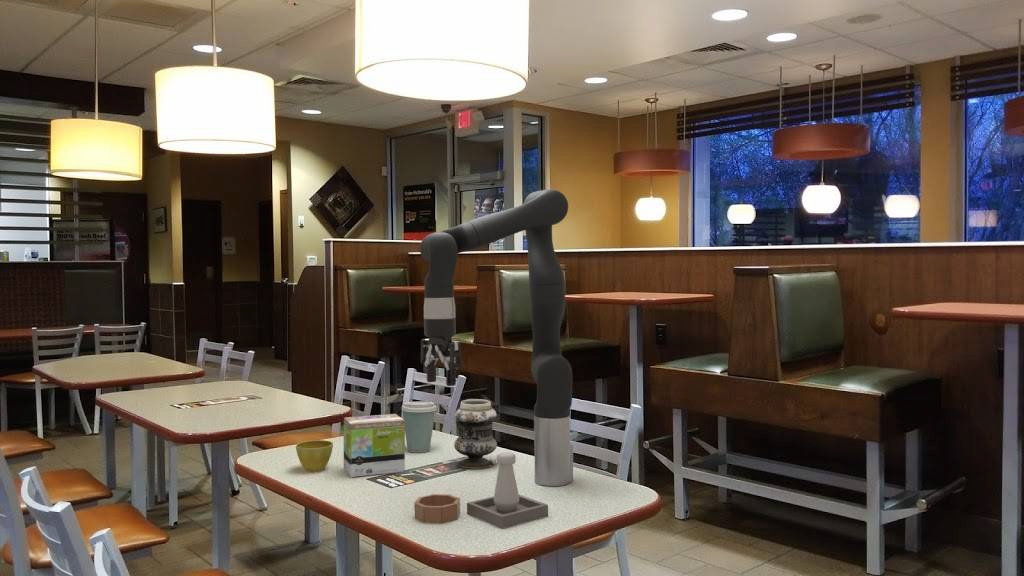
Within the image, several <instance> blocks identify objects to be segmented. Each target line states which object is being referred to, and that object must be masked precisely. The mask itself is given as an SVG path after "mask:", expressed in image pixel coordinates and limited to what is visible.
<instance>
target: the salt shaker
mask: <svg viewBox="0 0 1024 576" xmlns="http://www.w3.org/2000/svg"><path fill="white" fill-rule="evenodd" d="M516 460H517V459H516V455H515V454H514V452H511V451H502V452H498V453H497V455H496V463H497V464H498V468H497V469H498V471H497V476H496V480H495V481H496V482H495V488H494V494H493V496H494V503H495V506H496V508H497V510H498V511H500V512H503V513H510V512H514V511H515V510H516V507H517V505H518V503H519V495H520V494H519V491H518V486H517V485H518V484H517V480H516V476H515V475H516V474H515V470H514V464H515V463H516ZM518 494H519V495H518Z"/></svg>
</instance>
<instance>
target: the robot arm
mask: <svg viewBox="0 0 1024 576" xmlns="http://www.w3.org/2000/svg"><path fill="white" fill-rule="evenodd" d="M568 211H569V202H568V200H567V197H566V196H565V194H563V192H561V191H560V190H557V189H553V188H551V189H550V188H549V189H542V190H537V191H533V192H531V193H529V194H528V195H527V196H526V198H525V199H524V202H523V203H522V204H519V205H518V206H514V207H512V208H508V209H505V210H501V211H497V212H496V211H495V212H492V213H490V214H485V215H482V216H480V217H477V218H473V219H471V220H467V221H465V222H463V223H460V224H459V225H457V226H453V227H449V228H446V229H441V230H438V231H436V232H432V233H430V234H428V235H426V236H425V237H424V238H422V240H421V242H420V245H419V252H420V255H421V257H422V258H423V259H424V260H426V261H427V262H429V268H428V273H427V274H426V275H425V277H424V280H423V281H424V284H423V285H424V301H423V303H424V304H423V328H424V329H423V330H424V331H423V332H424V333H423V334H424V336H425V337H426V338H422V339H420V363H421V364H424V367H426V381H427V382H428V383H435V382H436V381H437V366H436V364H437V362H438V360H440V361H441V363H442V364H443V365H444V367H445V368H446V370H445V379H446V380H445V381H446V382H445V384H446V386H447V387H451V386H452V387H455V385H456V384H457V371H456V370H458V369H459V368H462V365H463V364H462V348H461V345H462V344H461V342H460V341H455V342H453V339H452V338H453V337H454V336H455V335H456V333H457V332H456V331H457V329H456V328H457V327H456V303H455V298H454V297H455V287H454V285H455V283H454V277H455V274H456V273H455V272H456V269H457V268H456V266H457V262H458V255H459V254H460V253H466V252H471V251H474V250H477V249H480V248H482V247H485V246H488V245H490V244H492V243H495V242H497V241H499V240H503V239H505V238H508V237H510V236H513V235H515V234H518V233H520V232H523V231H525V236H526V244H527V245H526V246H527V260H528V262H527V263H528V264H527V267H528V294H529V295H528V296H529V307H530V310H529V311H530V319H531V328H532V329H531V330H532V347H531V348H532V349H531V350H532V351H531V363H530V364H531V365H530V371H531V375H532V378H533V380H534V382H536V402H535V404H534V407H533V423H534V425H533V429H534V434H533V436H534V439H533V440H534V444H533V445H534V482H535V483H536V484H538V485H541V486H546V487H560V486H566V485H568V484H570V483H571V482H572V481H574V445H573V443H571V422H570V420H571V407H572V403H573V402H572V401H573V369H572V366H571V364H570V362H569V361H568V360H567V358H566V357H564V356H563V354H562V348H561V347H562V346H561V345H562V344H561V326H562V321H563V317H564V313H565V308H566V307H565V306H566V287H565V283H566V282H565V277H564V272H563V269H562V266H561V264H560V261H559V259H558V256H557V254H556V251H555V248H554V244H553V226H555V225H557V224H559V223H560V222H562V221H563V220H564V219H565V218H566V216H567V214H568Z"/></svg>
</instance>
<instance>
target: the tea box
mask: <svg viewBox="0 0 1024 576" xmlns="http://www.w3.org/2000/svg"><path fill="white" fill-rule="evenodd" d="M405 445H406V435H405V420H404V419H403V417H401V416H399V415H398V414H397V413H390V414H389V413H388V414H377V415H376V414H374V415H362V416H349V417H348V416H346V417H343V470H344V471H345V472H346V473H347V475H348V476H349V477H350V478H356V477H363V476H373V475H383V474H386V475H387V474H394V473H395V474H397V473H404V472H405V470H406V469H405V468H406V467H405V466H406V463H405V461H406V460H405V459H406V448H405Z"/></svg>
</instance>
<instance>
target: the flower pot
mask: <svg viewBox="0 0 1024 576" xmlns="http://www.w3.org/2000/svg"><path fill="white" fill-rule="evenodd" d="M333 447H334V442H332V441H330V440H325V439H322V440H321V439H316V440H315V439H314V440H305V441H302V442H298V443H296V444H295V450H296V454H297V458H298V460H299V462H300V465H301V467H302V468H303V469H304V471H305V472H307V473H308V472H309V473H318V472H321V471H324V470H325V469H326V467H327V465H328V463H329V462H330V459H331V455H332V453H333Z"/></svg>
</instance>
